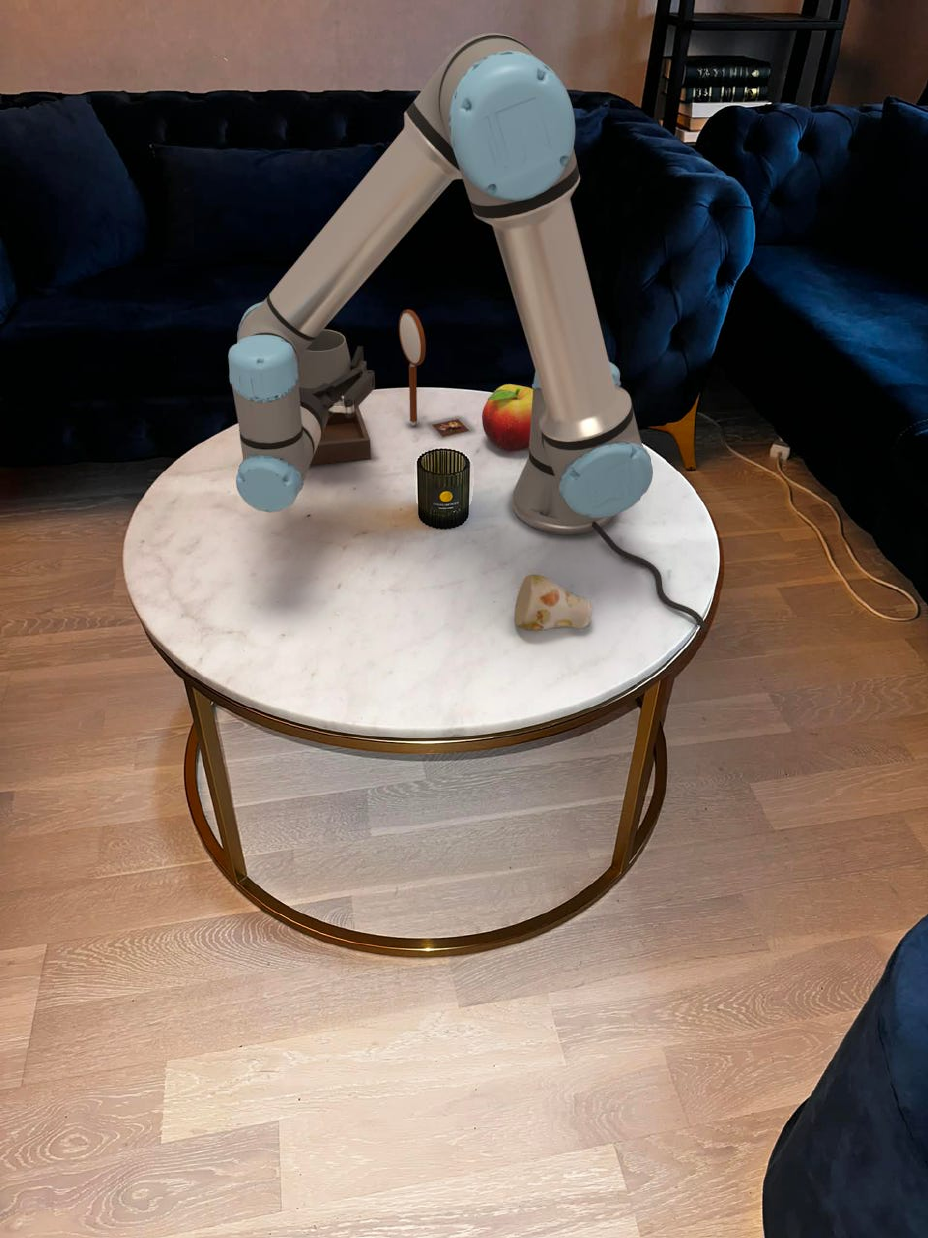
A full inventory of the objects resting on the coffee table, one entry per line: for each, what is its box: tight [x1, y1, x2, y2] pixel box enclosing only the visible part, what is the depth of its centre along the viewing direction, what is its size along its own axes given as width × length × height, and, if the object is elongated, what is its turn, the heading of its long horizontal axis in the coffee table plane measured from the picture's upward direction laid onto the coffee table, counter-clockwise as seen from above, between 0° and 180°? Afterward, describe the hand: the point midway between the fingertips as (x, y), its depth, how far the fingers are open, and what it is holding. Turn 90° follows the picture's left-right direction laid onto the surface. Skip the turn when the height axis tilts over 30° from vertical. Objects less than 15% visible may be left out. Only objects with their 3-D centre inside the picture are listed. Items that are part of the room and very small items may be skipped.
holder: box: [309, 405, 372, 467], centre depth 154 cm, size 12×12×4 cm
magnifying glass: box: [398, 309, 427, 427], centre depth 153 cm, size 9×2×20 cm, turn 27°
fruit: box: [481, 383, 533, 452], centre depth 153 cm, size 11×11×10 cm
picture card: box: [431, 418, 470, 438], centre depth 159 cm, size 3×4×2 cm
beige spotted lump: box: [514, 574, 594, 631], centre depth 120 cm, size 8×10×10 cm
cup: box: [299, 328, 352, 403], centre depth 137 cm, size 10×9×10 cm
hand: (327, 352), depth 140 cm, fingers closed on cup, 9 cm apart
